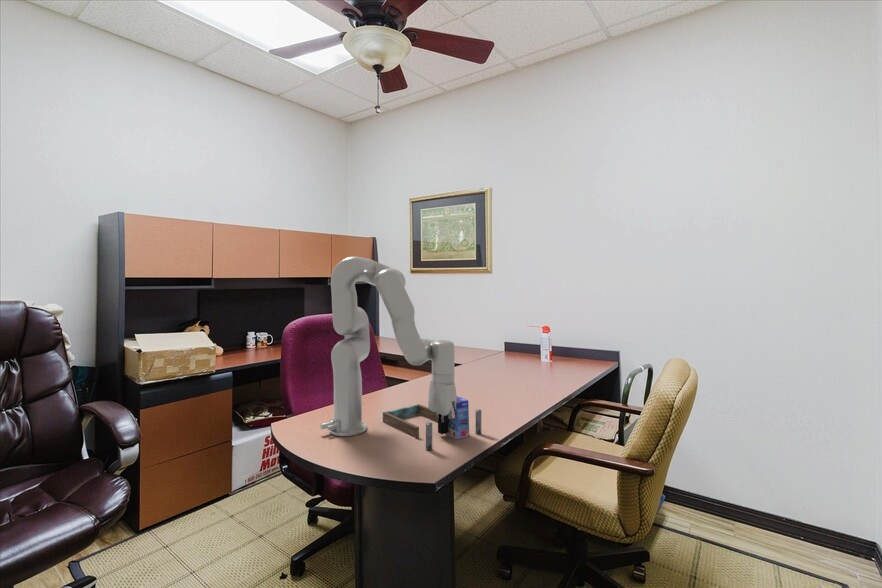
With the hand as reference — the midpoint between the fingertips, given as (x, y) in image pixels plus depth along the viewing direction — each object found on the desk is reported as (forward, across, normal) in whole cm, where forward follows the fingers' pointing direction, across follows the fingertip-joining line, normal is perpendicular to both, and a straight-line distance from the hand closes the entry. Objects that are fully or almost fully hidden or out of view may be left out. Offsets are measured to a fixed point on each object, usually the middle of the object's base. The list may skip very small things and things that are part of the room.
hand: (443, 432), depth 139 cm
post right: (+1, +6, +10) cm, 12 cm away
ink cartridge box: (+1, +1, +4) cm, 5 cm away
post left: (+1, +6, -10) cm, 12 cm away
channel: (+1, -14, 0) cm, 14 cm away
